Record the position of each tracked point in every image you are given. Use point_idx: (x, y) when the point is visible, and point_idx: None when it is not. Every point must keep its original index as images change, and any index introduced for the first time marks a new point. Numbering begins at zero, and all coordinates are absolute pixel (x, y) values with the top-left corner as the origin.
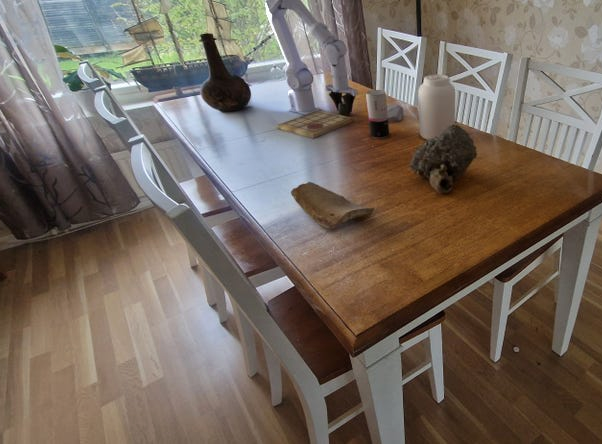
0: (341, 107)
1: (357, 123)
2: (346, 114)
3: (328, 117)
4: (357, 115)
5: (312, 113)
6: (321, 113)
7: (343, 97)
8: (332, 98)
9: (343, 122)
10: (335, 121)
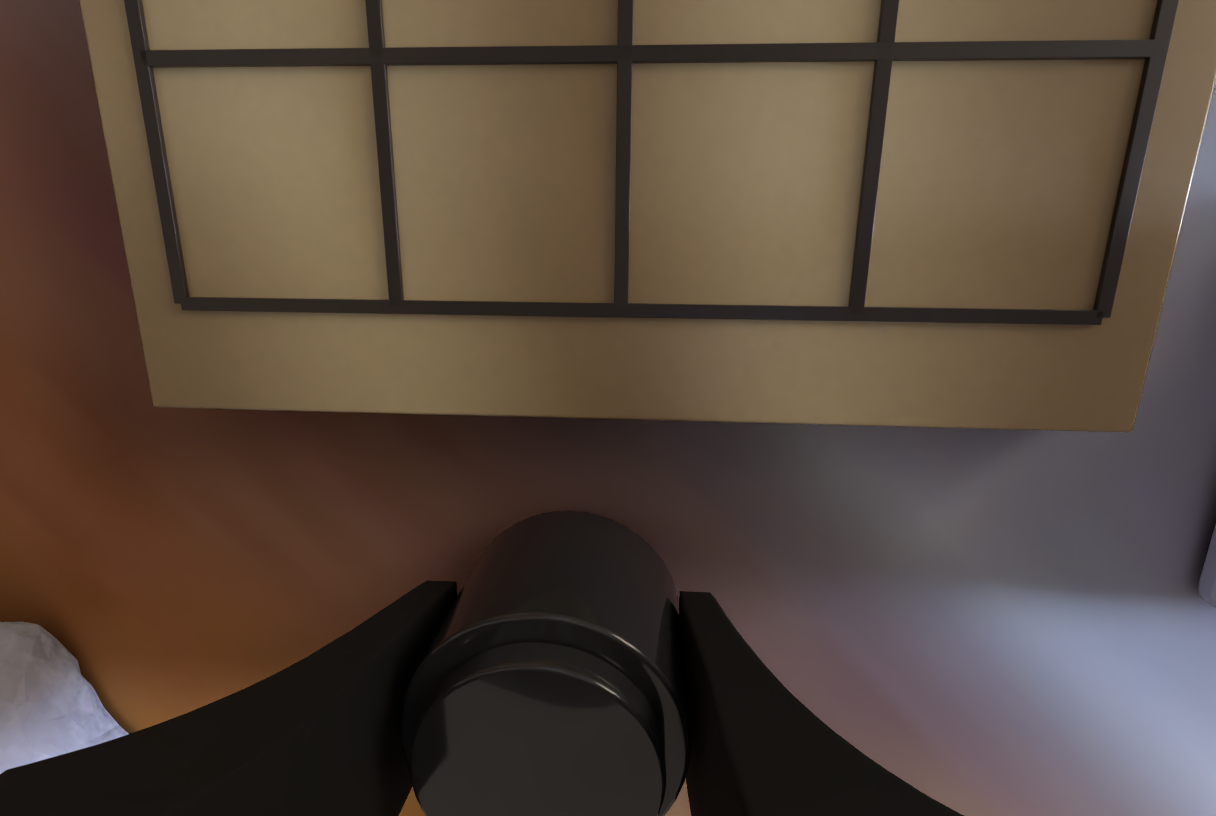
0: (502, 594)
1: (83, 364)
2: (479, 558)
3: (561, 158)
4: None
5: (1109, 172)
6: (900, 288)
7: (100, 797)
8: (826, 761)
9: (121, 137)
10: (228, 31)
